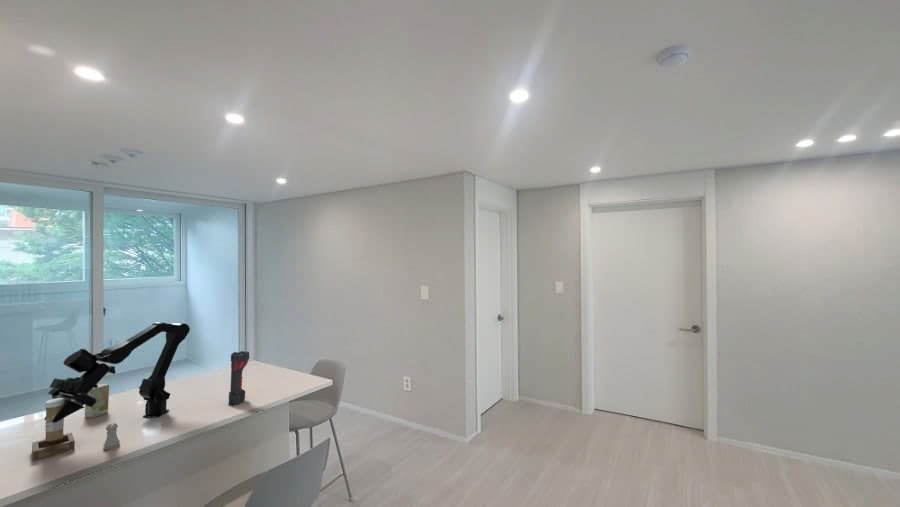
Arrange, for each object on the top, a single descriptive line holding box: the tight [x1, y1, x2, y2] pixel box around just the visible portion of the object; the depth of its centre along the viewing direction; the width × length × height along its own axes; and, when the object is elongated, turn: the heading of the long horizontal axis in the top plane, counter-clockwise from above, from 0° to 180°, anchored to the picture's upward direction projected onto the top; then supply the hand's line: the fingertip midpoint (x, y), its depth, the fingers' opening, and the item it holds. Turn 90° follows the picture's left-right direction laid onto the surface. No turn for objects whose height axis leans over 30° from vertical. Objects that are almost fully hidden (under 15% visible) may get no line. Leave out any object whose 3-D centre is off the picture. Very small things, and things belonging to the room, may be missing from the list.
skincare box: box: [84, 383, 110, 419], centre depth 156 cm, size 6×4×12 cm
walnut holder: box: [31, 432, 76, 462], centre depth 127 cm, size 10×10×3 cm
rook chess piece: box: [102, 422, 121, 451], centre depth 129 cm, size 4×4×8 cm
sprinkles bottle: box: [44, 398, 65, 441], centre depth 127 cm, size 5×5×14 cm
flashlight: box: [228, 350, 250, 406], centre depth 171 cm, size 8×8×23 cm
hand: (49, 421), depth 126 cm, fingers closed on sprinkles bottle, 4 cm apart
